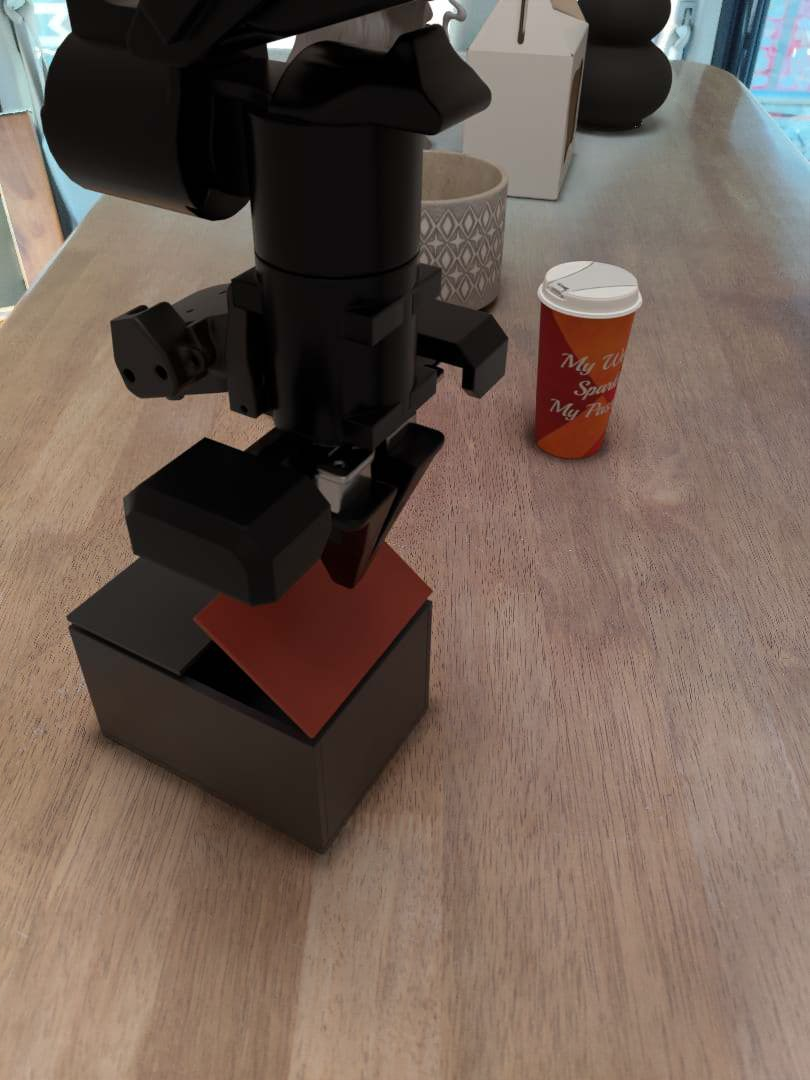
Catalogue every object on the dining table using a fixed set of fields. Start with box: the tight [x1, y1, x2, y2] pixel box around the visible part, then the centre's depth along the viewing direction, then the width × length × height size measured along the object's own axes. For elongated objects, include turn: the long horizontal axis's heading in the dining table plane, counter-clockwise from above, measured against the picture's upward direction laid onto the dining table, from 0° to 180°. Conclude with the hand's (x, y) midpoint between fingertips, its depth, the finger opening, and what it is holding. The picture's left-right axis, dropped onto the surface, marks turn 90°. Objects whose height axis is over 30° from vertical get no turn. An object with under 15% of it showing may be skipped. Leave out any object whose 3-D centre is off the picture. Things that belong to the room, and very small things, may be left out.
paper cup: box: [534, 260, 643, 460], centre depth 70 cm, size 8×8×14 cm
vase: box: [577, 0, 673, 133], centre depth 138 cm, size 18×18×35 cm
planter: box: [420, 149, 508, 311], centre depth 92 cm, size 16×16×13 cm
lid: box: [193, 540, 434, 738], centre depth 43 cm, size 7×11×1 cm
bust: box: [285, 0, 468, 150], centre depth 136 cm, size 34×34×35 cm
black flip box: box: [65, 556, 433, 855], centre depth 49 cm, size 15×11×9 cm
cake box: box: [461, 0, 589, 201], centre depth 121 cm, size 22×13×28 cm, turn 166°
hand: (347, 581), depth 41 cm, fingers closed
